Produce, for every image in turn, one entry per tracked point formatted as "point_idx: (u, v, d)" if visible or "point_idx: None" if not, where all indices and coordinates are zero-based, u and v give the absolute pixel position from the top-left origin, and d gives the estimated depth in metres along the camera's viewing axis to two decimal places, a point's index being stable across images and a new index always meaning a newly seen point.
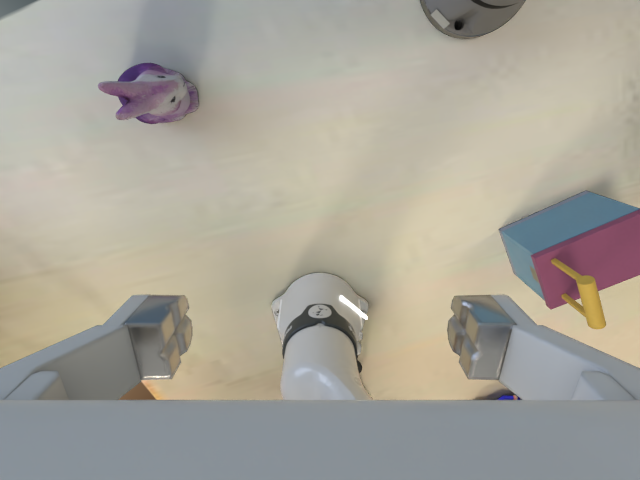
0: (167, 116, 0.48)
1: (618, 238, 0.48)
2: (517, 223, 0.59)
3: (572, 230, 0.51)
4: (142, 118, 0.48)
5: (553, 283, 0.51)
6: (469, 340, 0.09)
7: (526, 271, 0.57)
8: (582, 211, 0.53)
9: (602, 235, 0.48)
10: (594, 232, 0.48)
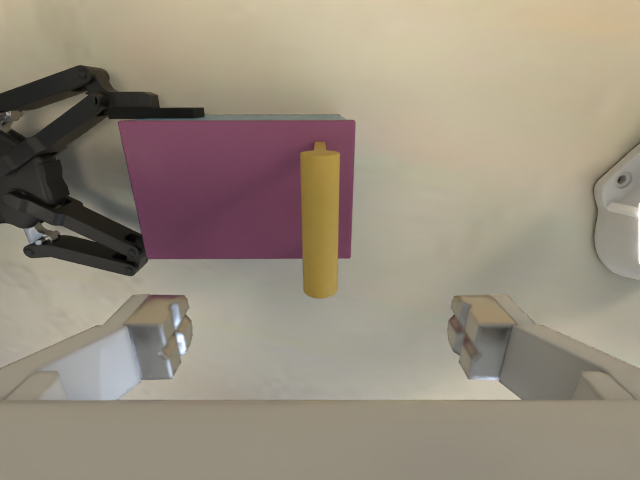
0: None
1: (197, 229, 0.25)
2: None
3: None
4: None
5: None
6: (469, 340, 0.09)
7: None
8: None
9: (226, 248, 0.26)
10: (238, 258, 0.26)
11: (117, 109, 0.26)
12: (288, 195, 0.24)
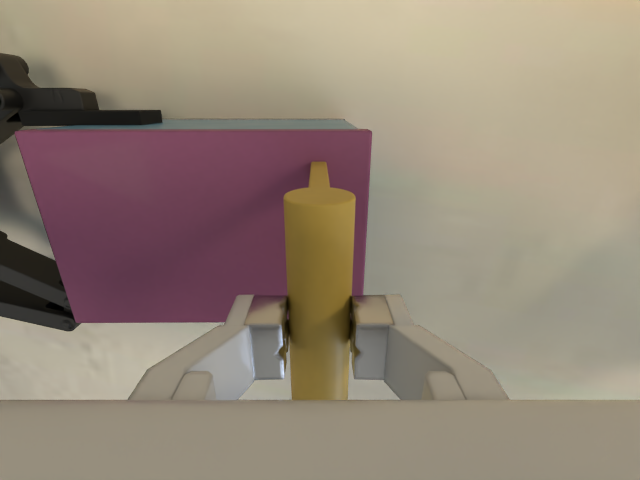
0: None
1: (144, 284, 0.18)
2: None
3: None
4: None
5: None
6: None
7: None
8: None
9: (186, 309, 0.18)
10: (204, 320, 0.19)
11: (33, 112, 0.18)
12: (272, 237, 0.17)
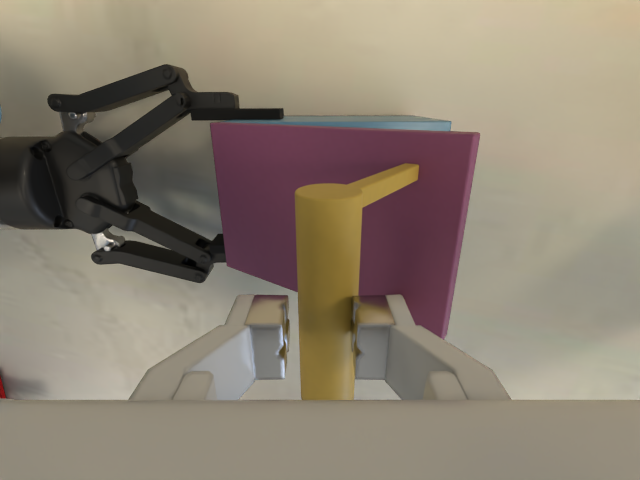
0: None
1: (266, 249, 0.22)
2: None
3: None
4: None
5: (423, 235, 0.15)
6: None
7: None
8: None
9: (291, 278, 0.21)
10: None
11: (201, 110, 0.25)
12: (362, 232, 0.17)
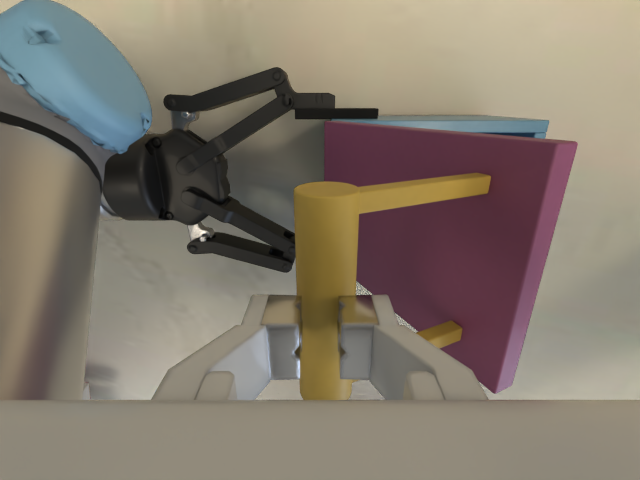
0: None
1: None
2: None
3: None
4: None
5: (488, 259, 0.13)
6: None
7: None
8: None
9: (367, 277, 0.21)
10: None
11: (305, 110, 0.27)
12: (429, 244, 0.16)
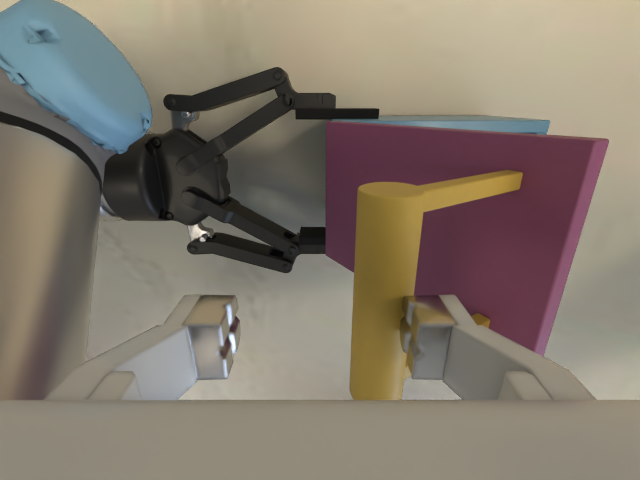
0: None
1: None
2: None
3: None
4: None
5: (519, 252, 0.14)
6: None
7: None
8: None
9: None
10: None
11: (305, 110, 0.26)
12: (452, 240, 0.16)
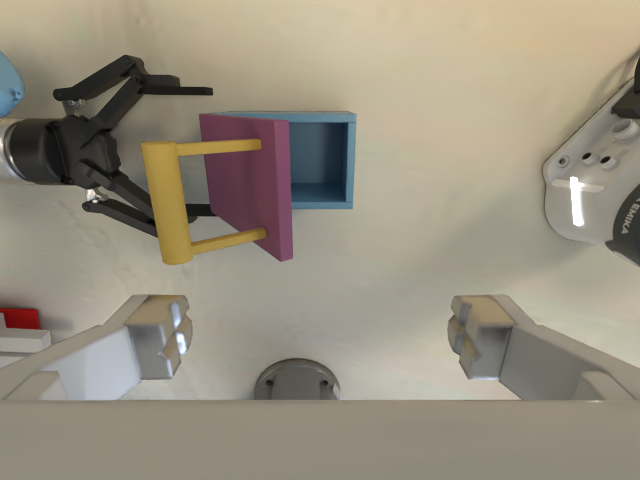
0: None
1: (222, 198, 0.33)
2: None
3: None
4: None
5: (267, 185, 0.24)
6: (469, 340, 0.09)
7: None
8: None
9: (231, 218, 0.32)
10: (237, 229, 0.32)
11: (151, 87, 0.36)
12: (249, 184, 0.27)
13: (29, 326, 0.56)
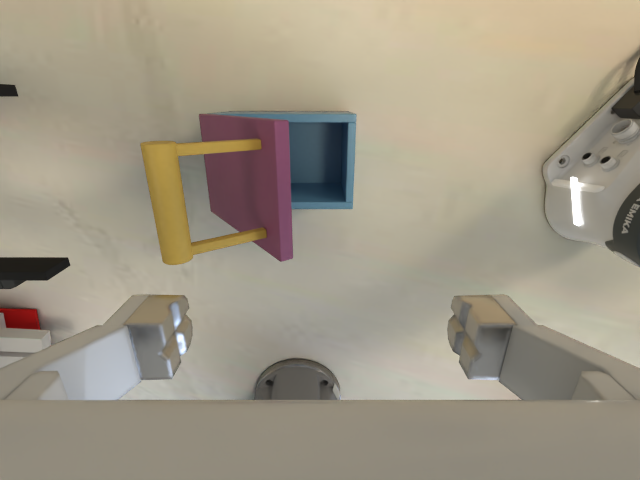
0: None
1: (222, 198, 0.33)
2: None
3: None
4: None
5: (267, 185, 0.24)
6: (469, 340, 0.09)
7: None
8: None
9: (231, 218, 0.32)
10: (237, 229, 0.32)
11: None
12: (249, 184, 0.27)
13: (29, 326, 0.56)
